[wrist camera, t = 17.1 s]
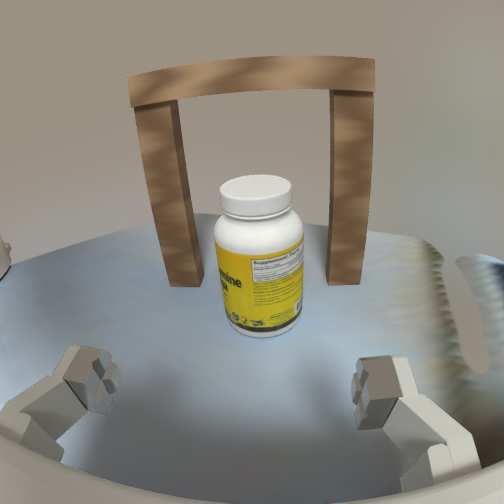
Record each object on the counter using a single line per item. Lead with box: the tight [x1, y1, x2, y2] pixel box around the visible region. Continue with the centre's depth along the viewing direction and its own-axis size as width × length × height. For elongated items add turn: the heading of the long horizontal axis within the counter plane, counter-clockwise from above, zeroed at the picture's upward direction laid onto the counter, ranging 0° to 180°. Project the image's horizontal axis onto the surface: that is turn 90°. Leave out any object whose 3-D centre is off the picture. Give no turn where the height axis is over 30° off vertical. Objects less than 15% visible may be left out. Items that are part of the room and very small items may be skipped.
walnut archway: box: [127, 56, 375, 287], centre depth 25 cm, size 18×3×20 cm, turn 85°
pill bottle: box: [214, 175, 304, 338], centre depth 23 cm, size 6×6×11 cm
